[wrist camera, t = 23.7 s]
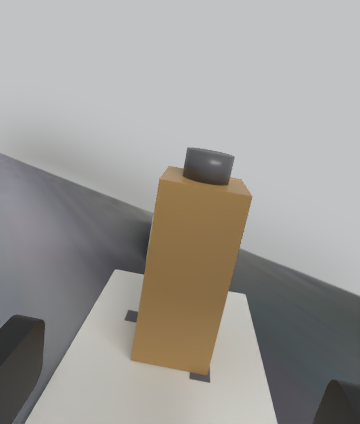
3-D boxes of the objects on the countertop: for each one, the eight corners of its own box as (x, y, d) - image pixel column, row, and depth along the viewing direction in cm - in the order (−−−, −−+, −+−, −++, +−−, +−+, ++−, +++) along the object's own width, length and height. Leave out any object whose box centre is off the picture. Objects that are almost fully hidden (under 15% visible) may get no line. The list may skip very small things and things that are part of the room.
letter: (244, 297, 28) (245, 294, 28) (294, 505, 13) (296, 500, 13) (114, 272, 28) (115, 268, 28) (13, 448, 13) (13, 442, 13)
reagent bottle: (206, 326, 23) (246, 155, 19) (207, 375, 18) (259, 166, 15) (144, 314, 23) (173, 142, 19) (130, 360, 18) (164, 148, 15)
